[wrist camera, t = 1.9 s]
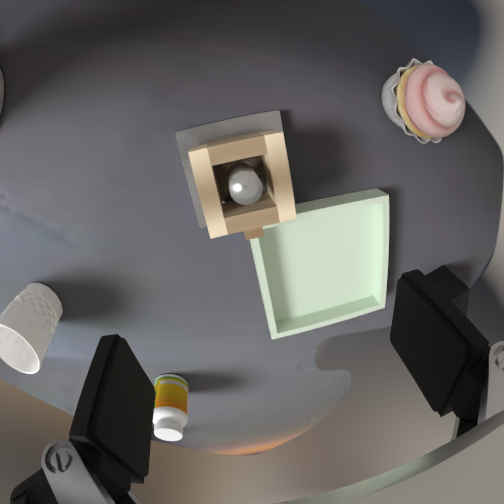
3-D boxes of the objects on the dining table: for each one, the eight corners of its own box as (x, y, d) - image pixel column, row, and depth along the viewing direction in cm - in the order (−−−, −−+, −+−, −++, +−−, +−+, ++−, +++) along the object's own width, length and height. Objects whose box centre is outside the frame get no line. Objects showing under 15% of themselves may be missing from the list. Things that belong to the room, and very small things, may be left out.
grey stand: (176, 131, 27) (161, 139, 19) (276, 110, 27) (302, 109, 19) (200, 223, 31) (197, 263, 23) (292, 202, 31) (319, 235, 24)
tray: (244, 215, 31) (247, 224, 29) (376, 188, 32) (388, 195, 29) (268, 325, 39) (272, 339, 36) (375, 295, 39) (384, 307, 36)
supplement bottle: (152, 371, 40) (145, 424, 32) (187, 373, 41) (186, 427, 33) (156, 392, 43) (151, 441, 34) (189, 394, 44) (188, 444, 35)
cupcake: (416, 55, 25) (475, 50, 16) (438, 126, 29) (496, 140, 20) (355, 71, 25) (410, 61, 17) (383, 148, 30) (439, 167, 21)
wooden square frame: (191, 146, 24) (188, 152, 20) (272, 129, 24) (282, 132, 20) (215, 236, 28) (215, 256, 24) (288, 219, 28) (299, 236, 24)
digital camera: (416, 279, 39) (442, 306, 33) (442, 264, 39) (470, 288, 32) (418, 324, 44) (438, 351, 38) (442, 310, 43) (464, 334, 37)
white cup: (55, 276, 32) (21, 325, 23) (74, 325, 35) (50, 377, 26) (14, 279, 31) (-22, 322, 22) (33, 324, 34) (7, 370, 25)
